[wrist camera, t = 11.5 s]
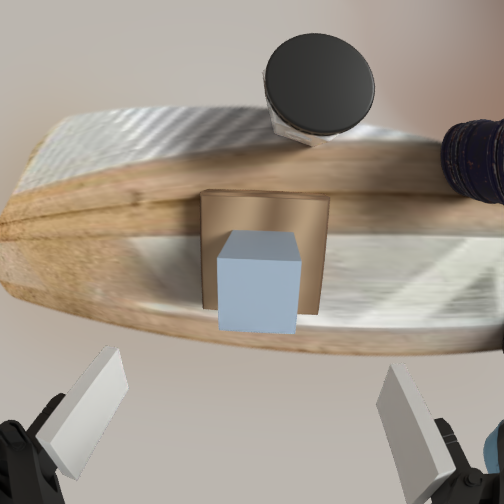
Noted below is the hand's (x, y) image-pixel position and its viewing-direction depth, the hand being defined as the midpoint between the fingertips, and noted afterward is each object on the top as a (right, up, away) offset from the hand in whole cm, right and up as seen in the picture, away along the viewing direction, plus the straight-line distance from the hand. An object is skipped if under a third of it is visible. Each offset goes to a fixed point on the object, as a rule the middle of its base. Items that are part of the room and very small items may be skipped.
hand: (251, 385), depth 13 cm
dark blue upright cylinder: (+28, +18, +17) cm, 37 cm away
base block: (+1, +7, +22) cm, 23 cm away
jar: (+6, +22, +17) cm, 28 cm away
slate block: (+1, +5, +18) cm, 19 cm away
